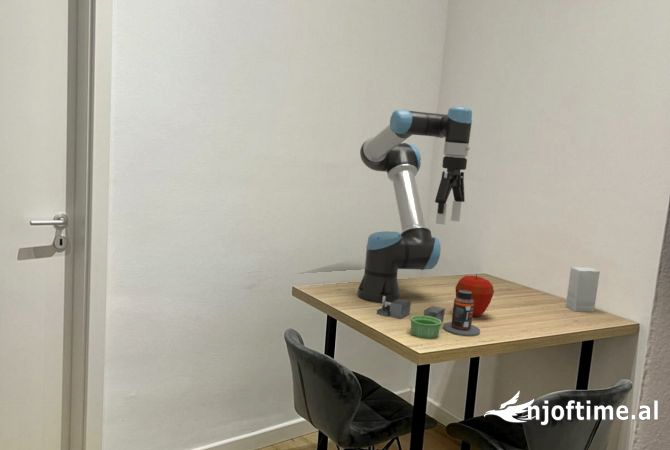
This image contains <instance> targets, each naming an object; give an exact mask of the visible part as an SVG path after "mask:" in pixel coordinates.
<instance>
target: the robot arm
mask: <svg viewBox="0 0 670 450" xmlns="http://www.w3.org/2000/svg"><path fill="white" fill-rule="evenodd" d="M472 118H473V110H472V109H471V108H469V107H468V108H467V107H464V106H463V107H459V106H451V107H449V109H448V112H447V114H442V113H433V112H425V111H424V112H423V111H415V110H414V111H413V110H408V109H395V110H394V111H393V112H392V114H391V116H390V120H389V124H388V125H387V126H386V127H384V128H383V129H382V130H381V131H380V132H379V133H377V134H376V135H375V136H374V137H370V138H368V139H366V140H365V141H364V142H363V143H362V145H361V147H360V149H359V154H360V155H359V156H360V159H361V162H362V163H363V164H364V166H366V167H367V168H369V169H371V170H372V171H376V172H385V173H387V178H388V179H389V180H390V181H391V182H392V184H393V190H394V195H395V200H396V204H397V209H398V215H399V221H400V225H401V226H400V227H401V232H399V231H387V230H386V231H384V230H383V231H376V232H373V233H371V234H370V235H369V236H368V238H367V243H366V251H365V254H366V255H365V262H364V263H365V264H364V273H363V276H362V279H361V281H360V283H359V286H358V288H357V297H359V298H360V299H363V300H365V301H369V302H373V303H374V302H375V303H382V300H383V296H386V298H385V301H387V302H392V301H395V300H397V299H399V298H400V299H401V291H400V286H399V281H398V271H399V270H421V271H424V270H432V269H434V268H435V267H436V266H437V264H438V263H439V260H440V256H441V248H442V247H441V241H440V240H439V239H438V238H437V237H435V236H434V237H433V236H432V232H431V230H430V228H428V227H426V224H425V220H424V219H425V218H424V213H423V209H422V206H421V199H420V197H419V191H418V187H417V182H416V181H417V180H416V176H417V174H418V172H419V171H420V169H421V164H422V163H421V161H422V158H421V153H420V149H418V147H417V146H416V145H415V144H411V143H407V142H405V141H406V140H407V139H409V138H410V137H411V136H414V135H415V136H425V137H434V138H440V139H443V138H444V139H445V140H444V146H443V155H444V156H443V158H442V168H443V169H446V171H442V172H441V177H440V178H441V179H440V182H439V184H438V185H439V186H438V189H437V193H436V196H435V200H434V202H435V203H436V204H437V209H436V216H435V217H436V218H435V225H436V224H437V225H443V226H445V225H446V216H447V208H448V204H447V201H448V199H449V196H450V193H451V191H452V195H453V201H452V207H451V215H450V216H451V217H450V221H452V222H458V223H459V222H460V219H461V209H462V203H465V201H466V200H465V197H466V196H465V181H464V180H465V179H464V177H465V172H464V171H465V170H466V169H467V163H468V159H467V158H466V157H468V154H469V151H470V147H469V145H470V144H469V143H470V137H471V130H472V123H473V119H472Z"/></svg>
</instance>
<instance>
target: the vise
mask: <svg viewBox="0 0 670 450" xmlns="http://www.w3.org/2000/svg"><path fill="white" fill-rule="evenodd" d="M385 298H386V296H383V300H382V302H381V303H382V304H381V308H379V309H377V310H376V315H380V316H384V317H393V318H396V319H399V320H400V319H403V318H406V317H407V316H410V313H411V306H412V305H411V303H412V301H411V300H408V299H404V298H401V297H400V298H399V299H397V300H395V301H392V302H387V301H385ZM445 311H446V309H445V308H444V307H440V306H434V305H432V306H430V307H428V308H426V309H424V310H423V316H430V317H434V318H437V319H439V320H441V324H444V317H445Z"/></svg>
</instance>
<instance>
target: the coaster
mask: <svg viewBox="0 0 670 450" xmlns="http://www.w3.org/2000/svg"><path fill="white" fill-rule="evenodd" d="M451 324H452V321H447V322H445V323H443V324H442V325H443V326H442V329H443V330H444V331H445V332H447V333H450V334H451V335H457V336H461V337H475V336H479V335H480V333H481V329H480V328H479V327H478V326H476V325H473V324H471V328H470V329H469V330H460V329H456V328H454V327H452V325H451Z"/></svg>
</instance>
